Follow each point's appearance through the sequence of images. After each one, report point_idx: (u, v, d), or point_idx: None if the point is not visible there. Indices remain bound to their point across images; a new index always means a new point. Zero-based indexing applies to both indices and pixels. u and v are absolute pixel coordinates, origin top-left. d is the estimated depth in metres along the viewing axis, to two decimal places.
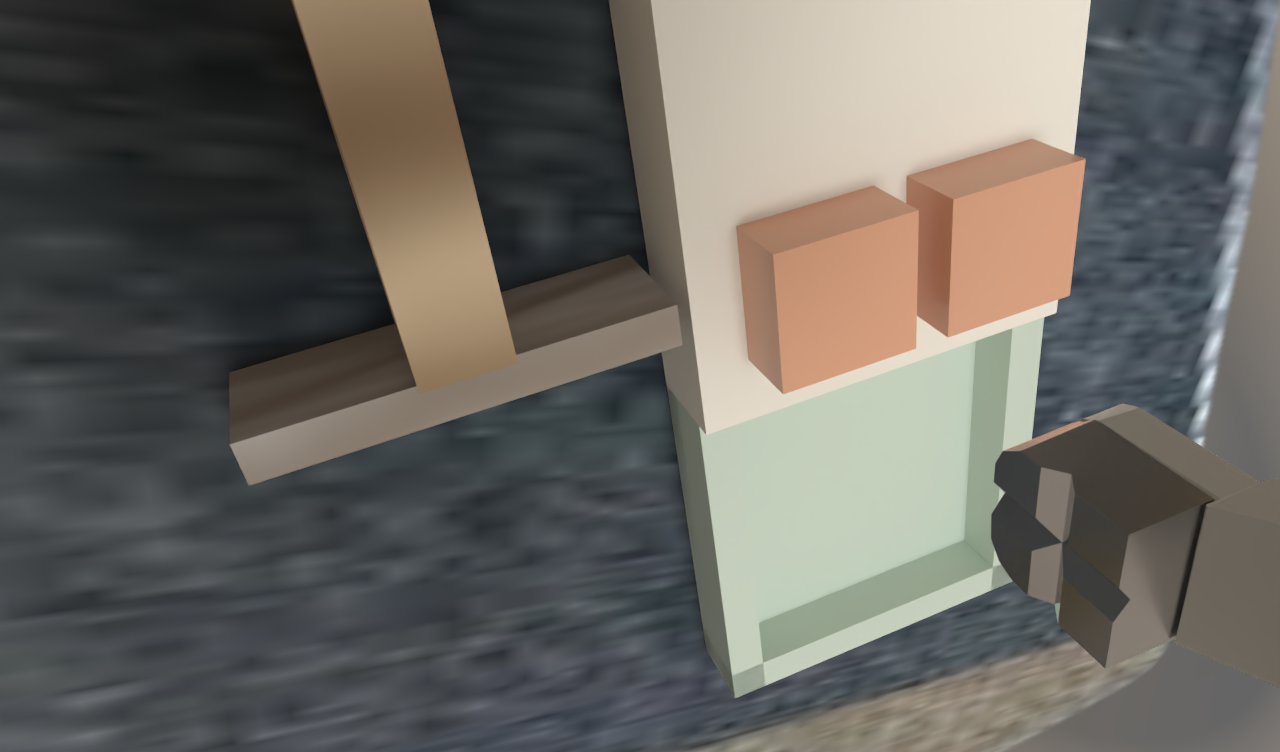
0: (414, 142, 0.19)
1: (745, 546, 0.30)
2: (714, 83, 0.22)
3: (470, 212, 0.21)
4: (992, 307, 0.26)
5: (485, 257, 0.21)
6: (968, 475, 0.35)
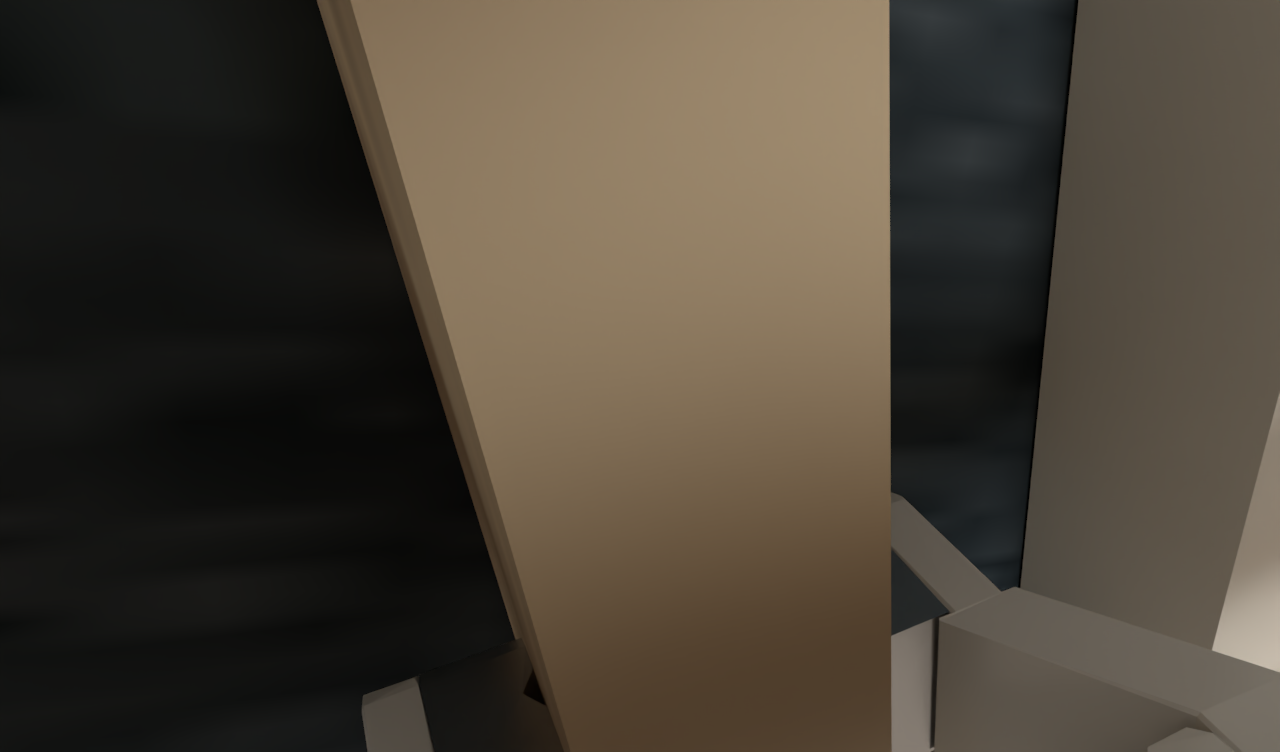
0: (773, 719, 0.07)
1: None
2: None
3: None
4: None
5: None
6: None
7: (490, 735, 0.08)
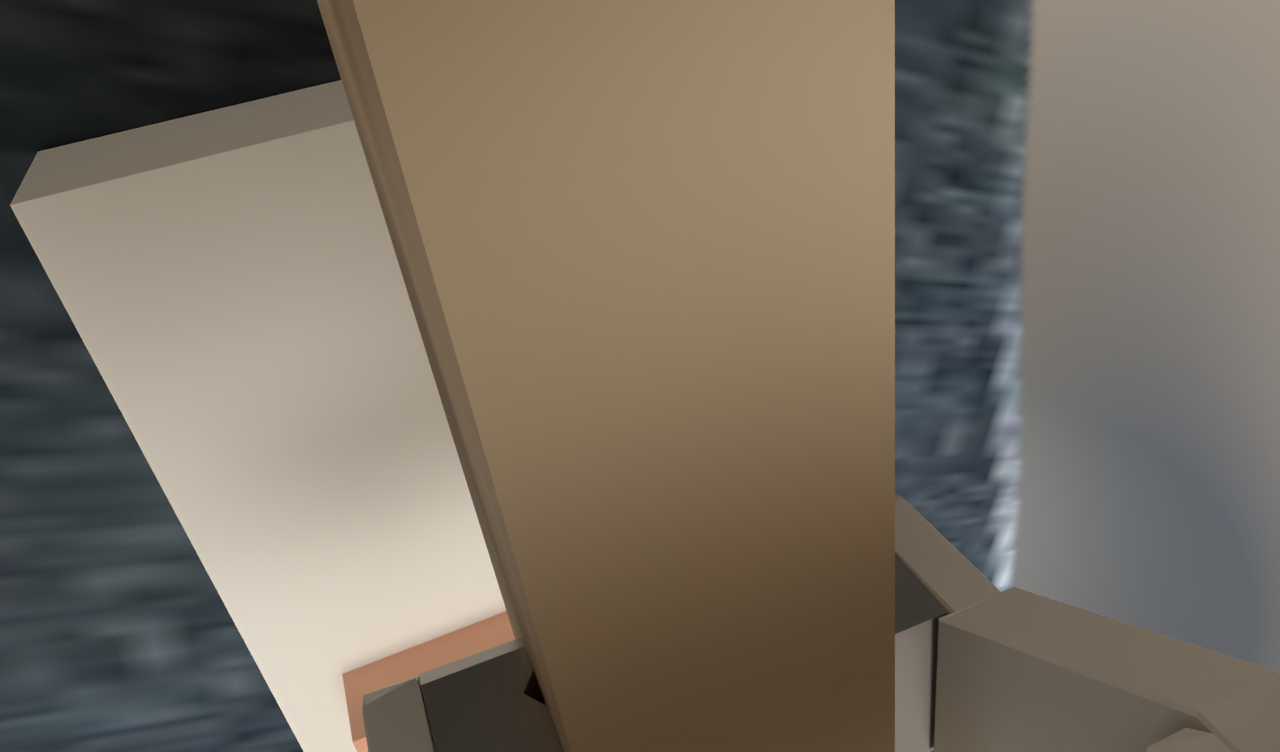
0: (777, 732, 0.07)
1: None
2: (278, 561, 0.20)
3: None
4: None
5: None
6: None
7: (491, 735, 0.08)
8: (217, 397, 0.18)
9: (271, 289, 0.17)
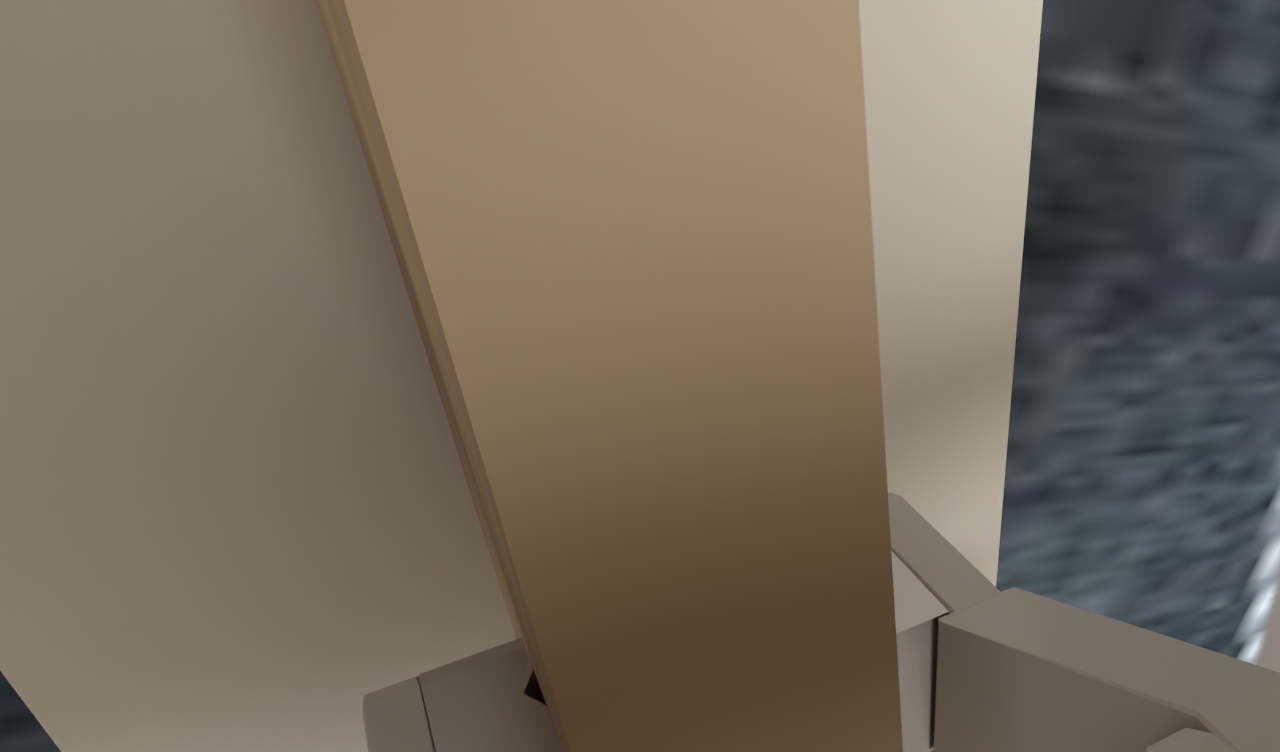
0: (768, 658, 0.06)
1: None
2: None
3: None
4: None
5: None
6: None
7: (491, 735, 0.08)
8: None
9: None
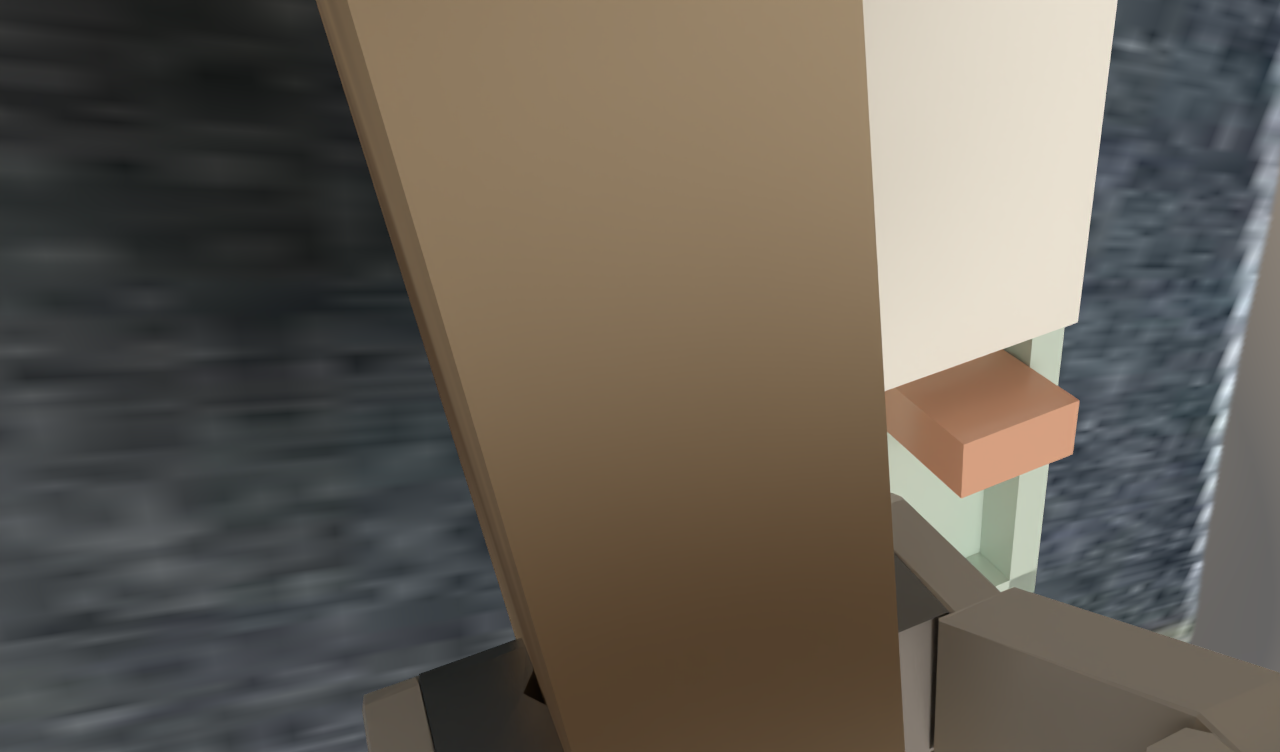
0: (771, 664, 0.06)
1: None
2: None
3: None
4: None
5: None
6: None
7: (491, 735, 0.08)
8: None
9: None
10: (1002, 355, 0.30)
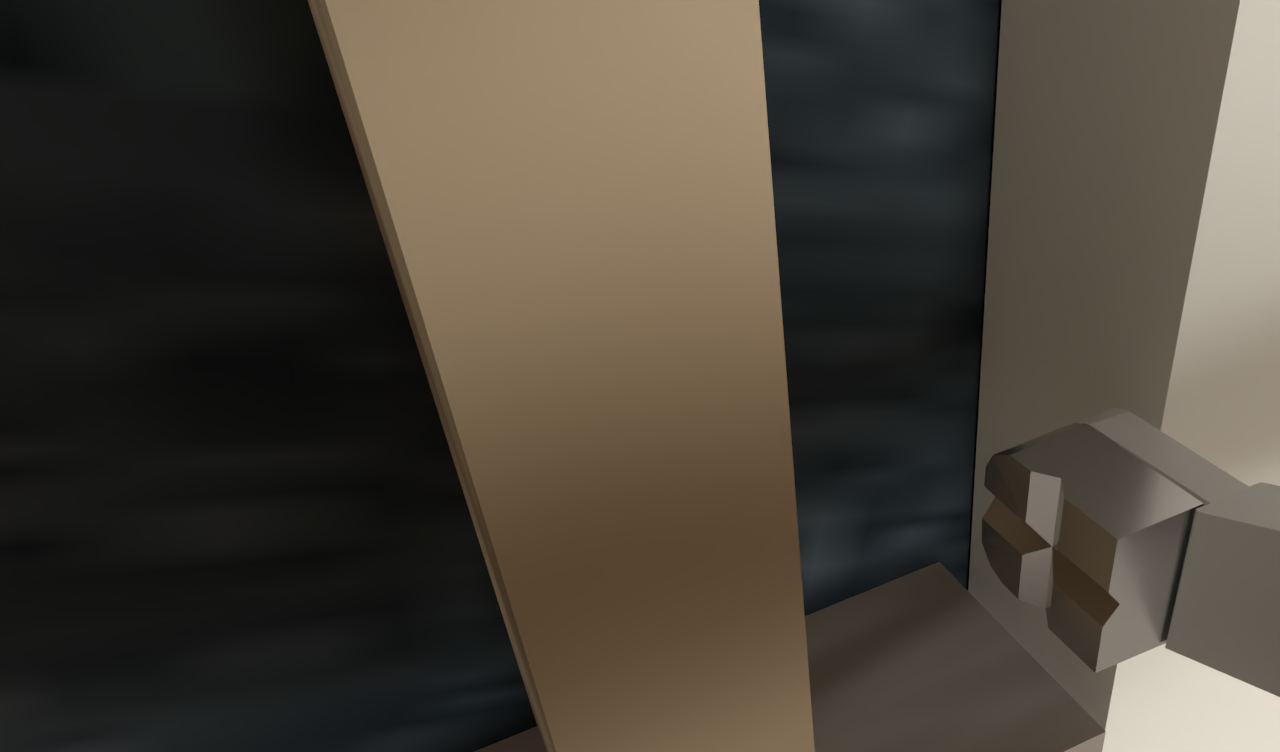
0: (690, 576, 0.08)
1: None
2: (1260, 362, 0.11)
3: (788, 685, 0.09)
4: None
5: None
6: None
7: None
8: None
9: None
10: None
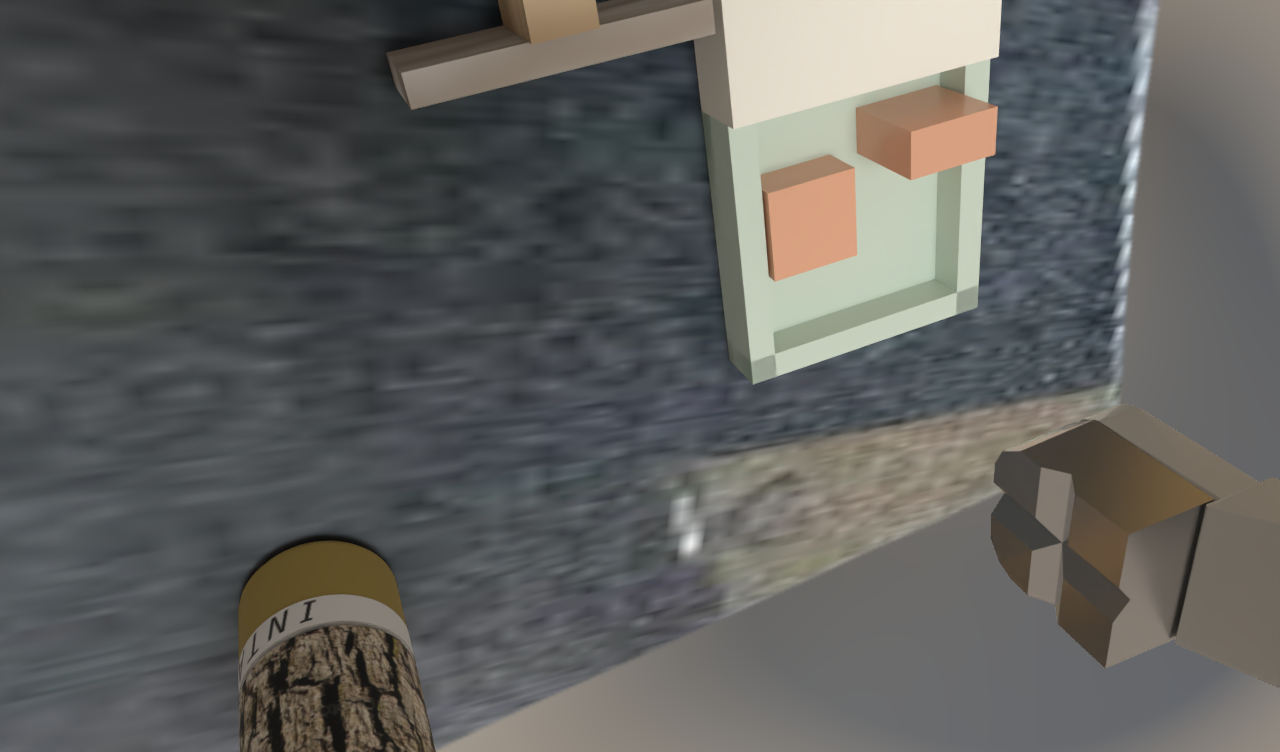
0: None
1: (761, 241, 0.40)
2: None
3: None
4: None
5: None
6: (936, 217, 0.44)
7: None
8: None
9: None
10: (944, 90, 0.40)
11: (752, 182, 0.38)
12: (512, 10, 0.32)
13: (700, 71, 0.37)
